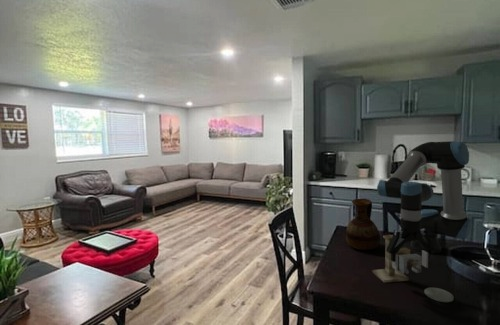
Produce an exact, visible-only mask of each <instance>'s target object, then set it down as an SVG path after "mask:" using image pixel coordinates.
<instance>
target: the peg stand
mask: <svg viewBox="0 0 500 325" xmlns="http://www.w3.org/2000/svg"><path fill="white" fill-rule="evenodd" d="M382 237H383V239H384V240H385V241H384V243H385V244H384V246H385V249H384V252H385V253H384V254H385V255H384V256H385V257H384V258H385V259H384V261H385V262H384V265H385V266H384V268H381V269H372V273H373V274H374V275H375V276H376V277H377V278H378V279H379V280H381V281H382V282H383V283H384V284H386V283H394V282H395V283H396V282H405V281H410V279H409V278H410V277H408V276H406V274H403V273H402V272H400V271H399V269H398V270H395V269H394V268H393V267H392V265H391V264H389V252H387V251H386V249H387V247H388V245H389V243H390V241H391V239H392V237H393V234H385V235H382ZM397 255H398V257H399V255H405V254H397ZM407 262H408V263H410V266H418V262H416V261H415V260H413V261H407Z"/></svg>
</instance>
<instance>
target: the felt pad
mask: <svg viewBox="0 0 500 325" xmlns="http://www.w3.org/2000/svg"><path fill="white" fill-rule="evenodd" d="M424 294H425V296H427V297H428V298H430V299H431V300H434V301H437V302H442V303H450V302H453V301H454V295H453V294H452V293H451V292H449V291H448V290H445V289H442V288H440V287H439V288H438V287H427V288H425V289H424Z"/></svg>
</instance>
